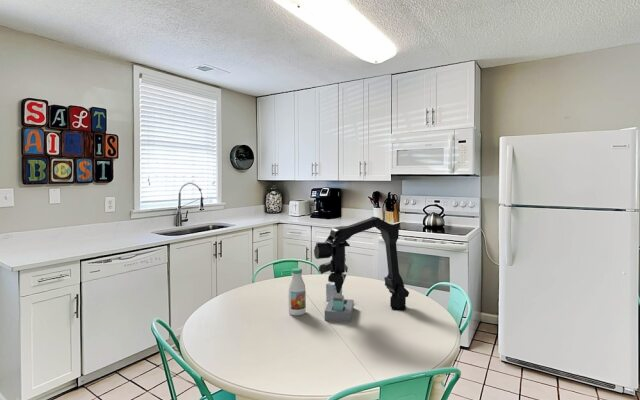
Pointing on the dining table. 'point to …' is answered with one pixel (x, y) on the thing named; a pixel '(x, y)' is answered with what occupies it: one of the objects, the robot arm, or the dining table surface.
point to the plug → (338, 303)
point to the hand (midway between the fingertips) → (338, 292)
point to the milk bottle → (296, 294)
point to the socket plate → (339, 315)
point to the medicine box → (331, 291)
